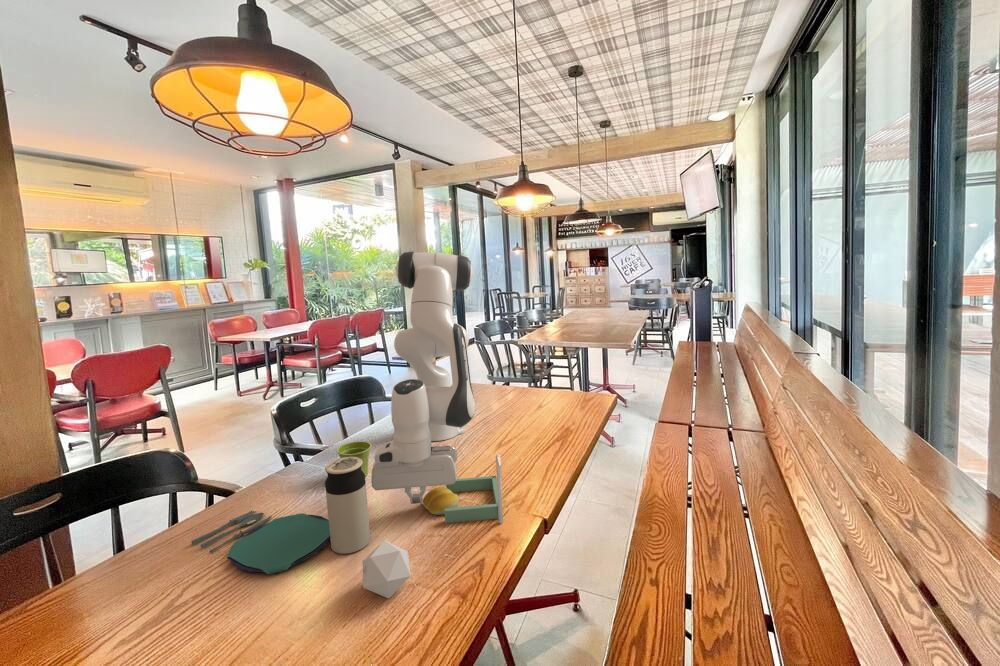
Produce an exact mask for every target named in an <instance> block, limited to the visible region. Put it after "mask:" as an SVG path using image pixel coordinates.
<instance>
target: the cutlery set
mask: <svg viewBox="0 0 1000 666" xmlns="http://www.w3.org/2000/svg"><path fill="white" fill-rule="evenodd" d="M256 512H257V511H255V510H250V511H249V512H246V513H244V514H241V515H239V516H237V517H234V518H232V519H229V521H228V522H226V523H225V524H223V525H222V526H219V528H216V529H214V530H212V531H210V532H208V533H205V534H203V535H201V536H199V537H196V538H194V539H192V540H191V545H192V546H194V545H195V546H196V544H198V543H200V542H202V541H204V540H206V539H208V538H210V537H212V536H214V535H216V534H218V533H220V532H222V531H223V530H224V529H226V528H227V527H229V526H231V525H232V526H233V525H234V524H235V525H237V524H239V523H240V524H239V526H237V527H236V526H235V527H234V528H231V529H230V530H228V531H225V532H223V533H220V534H219V535H217V536H215V537H212V538H210V539H209V540H207V541H205V542H203V543H201V544H200V548H202V549H205V548H206V547H208V546H209V545H211V544H213V543H214V542H216V541H218V540H220V539H221V538H223V537H224V536H227V535H229V534H231V533H233V532H234V531H236V530H238V529H240V528H242V527H246V526H251V525H252V526H251V527H249V528H247V529H245V530H242V531H241V530H240V531H239V532H238V533H235V534H234V535H232V537H231V538H229V539H227V540H226V541H224V542H222V543H221V544H219V545H217V546H216V547H213V548H211V549H209V553H210V554H213V552H214V551H216V550H217V549H220V548H221V547H222V546H224V545H225V544H227V543H229V542H231V541H233V540H236V539H238V540H236V541H234V542H233V544H232V545H231V546H230V549H229V551H228V553H227V556H226V559H228V560H231V564H232V565H233V566H234V567H236V568H237V569H238V570H241V571H245V572H250V573H261V572H262V573H263V572H264V573H265V574H268V575H273V574H277V573H281V572H285V571H287V570H288V569H289V568H290V567H291V566H293V565H296V564H299V563H301V562H303V561H305V560H306V559H307V560H308V558H310V557H312V556H314V555H315V554H317V553H318V552H319V551H321V550H322V548H324V547H325V546H326V545H327V544H328V543H329V541H331V539H330V529H329V519H328V518H326V517H323V516H321V515H316V514H308V513H303V512H302V513H295V514H291V515H285V516H281V517H277V518H274V519H272V515H269V516H268V517H266V518H264V519H263V520H261V519H262V517H264V515H265V512H263V511H262V512H261V511H260V512H258V513H256ZM271 519H272V520H271ZM260 520H261V521H260ZM270 520H271V521H270ZM258 521H259V522H258ZM269 521H270V522H269ZM255 523H256V524H255ZM253 524H254V525H253ZM241 536H242V537H241ZM239 538H240V539H239Z"/></svg>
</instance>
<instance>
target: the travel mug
mask: <svg viewBox="0 0 1000 666" xmlns="http://www.w3.org/2000/svg"><path fill="white" fill-rule="evenodd" d="M362 463H363V461H362V460H361V459H360V458H357V457H344V458H340V457H339V458H337V459H333V460H331V461H330V462H328V463H327V464H325V466H324V471H325V472H326V475H327V477H326V478H325V481H324V485H325V487H324V488H325V497H326V498H325V499H326V507H327V516H328V518H327V519H328V520H329V529H330V545H331V550H332V551H333V552H335V553H336V554H340V555H342V554H344V555H345V554H352V553H356V552H358V551H359V550H361V549H364V548H365V547H366V546H367V545H368V544H369V543H370V541H371V531H370V530H371V529H370V519H369V507H368V506H369V505H368V496H367V495H368V492H367V484H366V483H367V482H366V477H365V474H364V473H363V471H362V470H361V465H362Z"/></svg>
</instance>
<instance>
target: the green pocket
mask: <svg viewBox="0 0 1000 666" xmlns="http://www.w3.org/2000/svg"><path fill="white" fill-rule="evenodd" d="M501 461H502V460H501V455H500V454H496V455H495V467H496V468H495V470H496V471H495V472H496V475H491V476H490V475H489V476H477V477H475V476H474V477H466V478H464V477H463V478H457V480H456V482H455V483H454V484H449V485H445V488H447V489H449V490H450V491H452V492H453V493H460V492H473V491H474V492H475V491H484V490H492V494H493V499H494V500H493V501H494V503H490V504H489V503H488V504H478V505H468V506H458V507H455V508H445V514H444V523H445V524H452V523H453V524H455V523H463V522H475V521H485V520H486V521H487V520H495V519H496V520H498V524H500V525H502V524H504V514H503V509H504V508H503V493H502V492H503V490H502V488H503V487H502V479H503V477H502V476H503V475H502V462H501Z"/></svg>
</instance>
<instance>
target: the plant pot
mask: <svg viewBox="0 0 1000 666" xmlns="http://www.w3.org/2000/svg"><path fill="white" fill-rule="evenodd" d="M371 448H372V444H371V442H369V441H363V440H362V441H360V440H358V441H357V440H356V441H352V442H351V441H350V442H347V443H345V444H342V445H340V446H339V447H338V448H337V449H336V452H337V454H338V456H339V458H344V457H357V458H360V459H361V460H362V461H363V463H362V465H361V470H362V471H363V473H364V474H365V478H366V477H367V475H368V474H369V458H370V457H369V456H370V453H371Z"/></svg>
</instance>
